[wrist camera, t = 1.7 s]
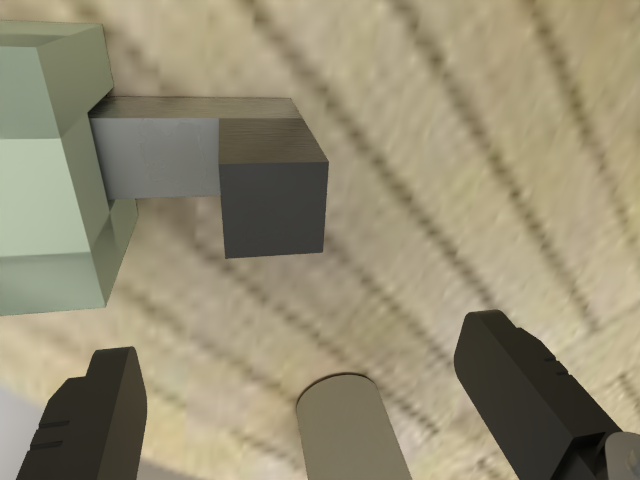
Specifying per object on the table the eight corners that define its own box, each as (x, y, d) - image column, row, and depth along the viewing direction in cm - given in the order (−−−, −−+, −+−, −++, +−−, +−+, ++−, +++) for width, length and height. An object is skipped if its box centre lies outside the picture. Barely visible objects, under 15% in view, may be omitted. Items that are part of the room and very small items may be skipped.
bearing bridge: (-12, 19, 20) (-150, 42, 13) (102, 24, 21) (36, 47, 14) (51, 219, 26) (-20, 317, 18) (138, 215, 27) (105, 307, 19)
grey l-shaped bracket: (-172, 94, 20) (-466, 178, 11) (290, 98, 24) (328, 161, 16) (-130, 173, 22) (-353, 295, 13) (289, 164, 26) (322, 252, 18)
